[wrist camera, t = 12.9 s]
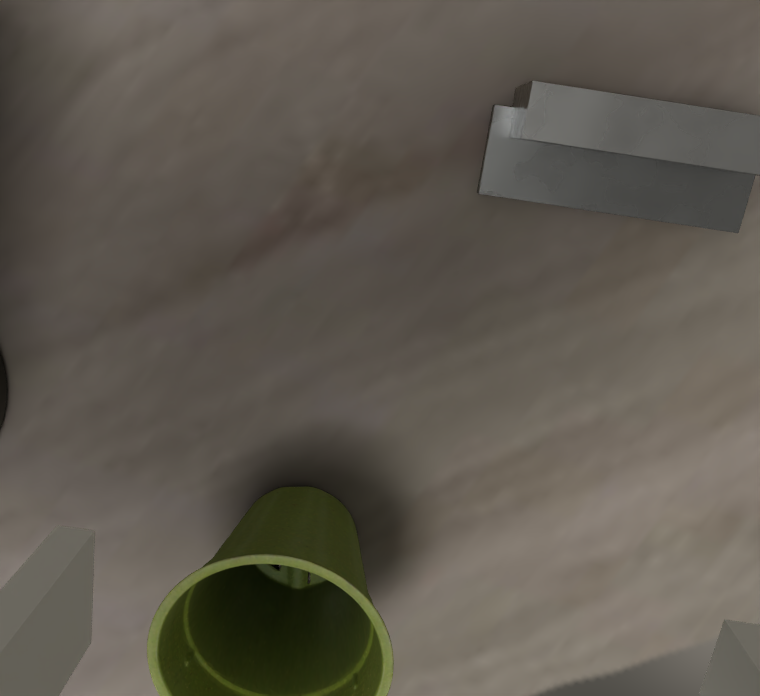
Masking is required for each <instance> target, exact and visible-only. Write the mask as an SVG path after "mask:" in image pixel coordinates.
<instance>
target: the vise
mask: <svg viewBox="0 0 760 696" xmlns="http://www.w3.org/2000/svg"><path fill="white" fill-rule="evenodd" d="M755 175H760V116H757V115H751V114H745V113H738V112H732V111H725V110H719V109H712V108H706V107H699V106H693V105H687V104H680V103H674V102H667V101H661V100H654V99H648V98H641V97H635V96H628V95H622V94H616V93H609V92H603V91H596V90H590V89H583V88H577V87H570V86H564V85H557V84H551V83H545V82H538V81H531V82H529V83H526V84H524V85H522V86H519V87H517V88H516V89H515V94H514V100H513V105H512V107H507V106H501V105H493V108H492V113H491V119H490V124H489V130H488V135H487V141H486V146H485V152H484V157H483V163H482V168H481V173H480V179H479V184H478V190H477V193H478V194H485V195H491V196H498V197H504V198H511V199H517V200H524V201H531V202H537V203H544V204H550V205H557V206H563V207H570V208H576V209H583V210H590V211H596V212H603V213H609V214H616V215H622V216H629V217H636V218H642V219H649V220H655V221H662V222H668V223H675V224H682V225H688V226H695V227H701V228H708V229H714V230H721V231H728V232H734V233H739V229H740V226H741V222H742V219H743V216H744V212H745V209H746V205H747V202H748V198H749V195H750V192H751V188H752V185H753V181H754V178H755Z"/></svg>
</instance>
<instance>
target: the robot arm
mask: <svg viewBox="0 0 760 696" xmlns="http://www.w3.org/2000/svg"><path fill="white" fill-rule="evenodd" d="M6 400H7V386H6V376H5V370H4V365H3V362H2V358H1V355H0V428H1V425H2V422H3V418H4V414H5V409H6ZM94 543H95V531H94V530H87V529H80V528H73V527H66V526H59V525H57V527H56V528H55V529H54V530H53V531H52V532H51V533H50V535H49V536H48V537H47V538H46V539H45V540H44V541H43V543H42V544H41V545H40V546H39V547H38V548H37V549H36V550H35V552H34V553H33V554H32V555H31V556H30V557H29V558H28V560H27V561H26V562H25V563H24V564H23V565H22V566H21V568H20V569H19V570H18V571H17V572H16V573H15V574H14V576H13V577H12V578H11V579H10V580H9V581H8V582H7V583H6V585H5V586H4V587H3V588H2V589H1V590H0V696H59V694H60V693H61V691H62V690H63V688H64V686H65V685H66V683H67V681H68V680H69V678H70V676H71V675H72V673H73V671H74V670H75V668H76V667H77V665H78V663H79V662H80V660H81V658H82V657H83V655H84V653H85V652H86V650H87V648H88V647H89V645H90V644H91V640H92V608H93V576H94ZM699 696H760V624H753V623H746V622H739V621H732V620H724V622H723V625H722V628H721V631H720V634H719V637H718V640H717V643H716V646H715V649H714V652H713V655H712V657H711V660H710V663H709V666H708V669H707V672H706V675H705V678H704V681H703V684H702V687H701V690H700V693H699Z"/></svg>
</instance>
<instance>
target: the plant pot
mask: <svg viewBox="0 0 760 696" xmlns="http://www.w3.org/2000/svg"><path fill="white" fill-rule="evenodd" d="M270 564H276V565H281V567H280V569H279V570H280V571H279V570H277V569H276V568H275V567H272V566H271V565H270ZM308 572H310V578H311V581H310V583H309V584H308V583H307V582H308ZM147 658H148V664H149V669H150V674H151V677H152V680H153V683H154V685H155V688H156V690H157V692H158V694H159V695H160V696H387V694H388V692H389V689H390V686H391V682H392V676H393V664H394V661H393V649H392V644H391V640H390V636H389V633H388V631H387V628H386V626H385V624H384V621H383V620H382V618H381V616H380V614H379V613H378V611H377V610H376V608H375V607H374V605H373V603H372V600H371V598H370V596H369V594H368V590H367V584H366V579H365V574H364V568H363V563H362V558H361V552H360V547H359V541H358V535H357V531H356V527H355V523H354V521H353V519H352V517H351V515H350V513H349V512H348V510H347V509H346V508H345V506H344V505H343V504H342V503H341V502H340V501H339V500H337V499H336V498H335V497H333V496H332V495H330V494H328V493H326V492H324V491H322V490H320V489H317V488H313V487H308V486H306V487H281V488H278V489H275V490H273V491H271V492H269V493H267V494H265V495H263V496H262V497H261V498H259V499H258V500H257V501H256V502H255V503H254V504H253V505H252V507H251V508H250V509H249V510H248V512H247V513H246V514H245V516H244V517H243V518H242V520H241V521H240V523H239V524H238V525H237V527H236V528H235V529H234V531H233V532H232V533H231V535H230V536H229V537H228V538H227V540H226V541H225V542H224V544H223V545H222V546H221V548H220V549H219V550H218V552H217V553H216V554H215V556H214V557H213V558H212V559H211V560H210V561H209V562H208V563H206V564H205V565H204V566H203V567H202V568H200V569H198V570H196V571H195V572H193V573H191V574H190V575H188V576H187V577H186V578H184V579H183V580H182V581H181V582H179V583H178V584H177V585H176V586H175V587H174V588H173V589H172V590H171V591H170V592H169V593H168V595H167V596H166V597H165V599H164V600H163V601H162V603H161V604H160V606H159V608H158V610H157V612H156V614H155V616H154V618H153V620H152V623H151V626H150V630H149V634H148V641H147Z"/></svg>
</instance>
